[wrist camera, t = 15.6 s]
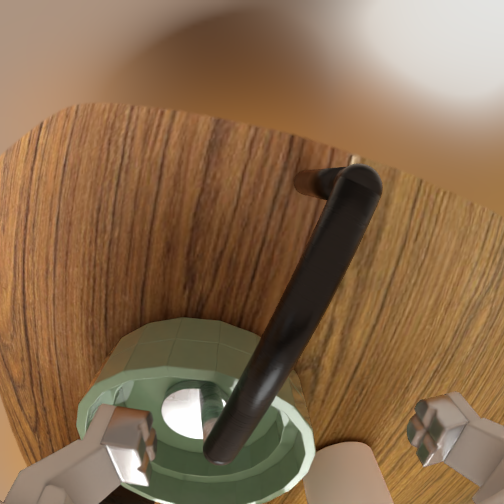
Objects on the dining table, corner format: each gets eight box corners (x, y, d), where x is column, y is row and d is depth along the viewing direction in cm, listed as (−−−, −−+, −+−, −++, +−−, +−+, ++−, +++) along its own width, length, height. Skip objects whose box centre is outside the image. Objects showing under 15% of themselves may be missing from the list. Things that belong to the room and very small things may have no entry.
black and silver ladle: (218, 437, 26) (215, 534, 15) (155, 417, 25) (130, 513, 14) (346, 189, 21) (437, 203, 11) (268, 151, 21) (303, 125, 10)
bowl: (94, 421, 27) (72, 469, 20) (129, 277, 23) (92, 320, 16) (251, 472, 29) (253, 522, 22) (337, 356, 25) (363, 411, 18)
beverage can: (335, 429, 28) (367, 526, 16) (383, 446, 29) (419, 525, 17) (285, 470, 29) (299, 559, 18) (336, 483, 31) (357, 559, 19)
